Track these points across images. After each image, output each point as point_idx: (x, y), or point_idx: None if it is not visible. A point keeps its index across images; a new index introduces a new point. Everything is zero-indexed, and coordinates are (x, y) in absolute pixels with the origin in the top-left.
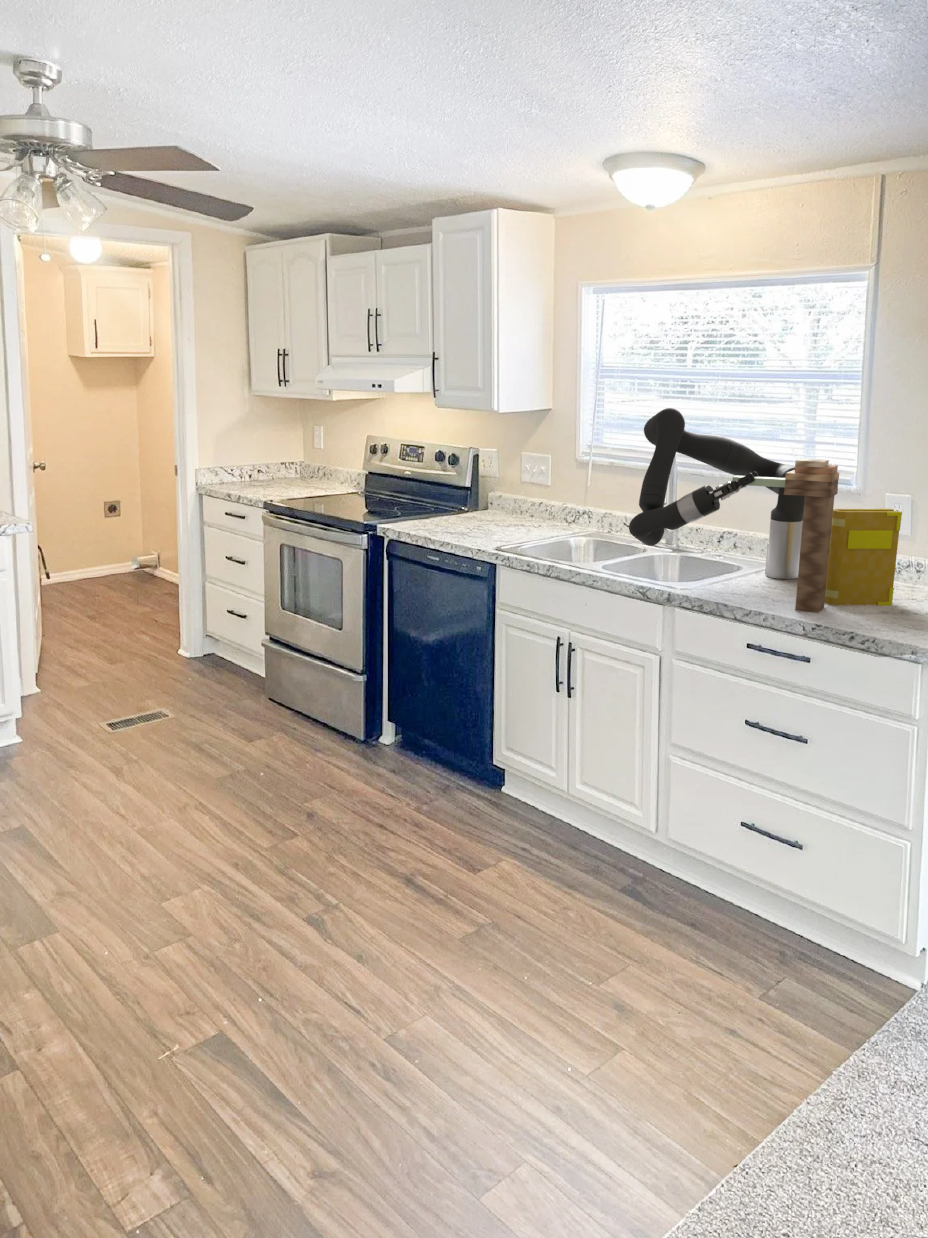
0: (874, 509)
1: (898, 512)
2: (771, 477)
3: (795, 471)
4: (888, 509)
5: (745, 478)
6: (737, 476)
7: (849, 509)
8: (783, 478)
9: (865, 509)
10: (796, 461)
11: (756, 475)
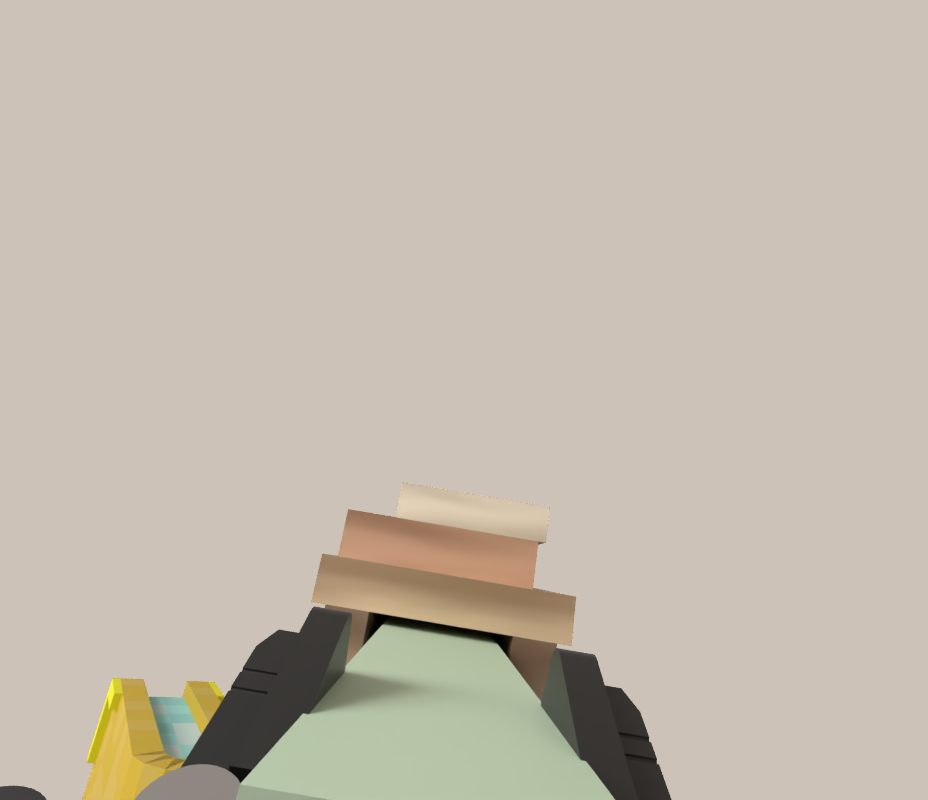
0: (143, 699)
1: (216, 686)
2: (380, 649)
3: (533, 579)
4: (138, 684)
5: (648, 758)
6: (464, 793)
7: (152, 736)
8: (421, 638)
9: (146, 711)
10: (547, 514)
11: (345, 661)
